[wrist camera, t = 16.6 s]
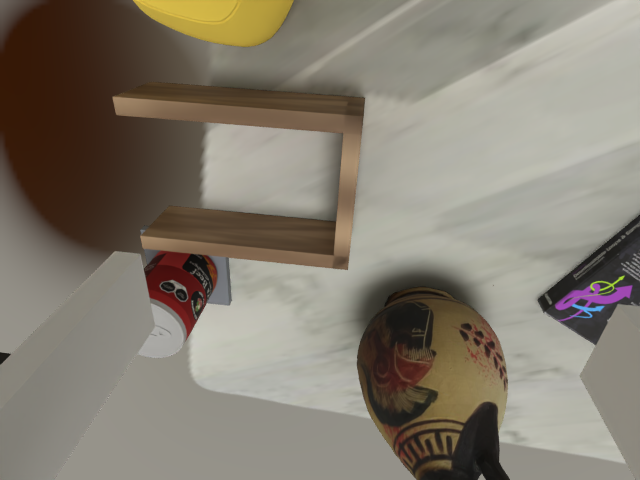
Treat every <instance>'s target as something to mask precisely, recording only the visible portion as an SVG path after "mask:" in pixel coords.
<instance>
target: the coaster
mask: <svg viewBox="0 0 640 480" xmlns="http://www.w3.org/2000/svg"><path fill="white" fill-rule="evenodd" d="M148 227H149V226H144V227H143V228H142V229H141V235H142V234H143V232H144V231H145V230H146V229H147V228H148ZM144 251H145V256H146V261H147V265H148V264H149V263H150V261H151V260H152V259H153V258H154V257H155V256H156V255H157V253H158V252H160V251H161V250H152V249H144ZM207 256H208V257H209V258H210V259H211V260H212V262H213V263H214V265H215V267H216V270H217V284H216V287H215V289H214V291H213V292H212V294H211V296H210V298H209V300H208V302H207V303H211V304H220V305H230V303H231V301H232V299H231V286H230V273H229V259H228V257H219V256H209V255H207Z"/></svg>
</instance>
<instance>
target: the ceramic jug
mask: <svg viewBox="0 0 640 480" xmlns="http://www.w3.org/2000/svg"><path fill="white" fill-rule="evenodd" d="M493 286H494V285H493ZM357 369H358V375H359V381H360V385H361V388H362V393H363V397H364V400H365V403H366V406H367V409H368V412H369V414H370V416H371V418H372V420H373V421H374V423H375V425H376V426H377V428H378V429H379V431H380V432H381V434H382V436H383V437H384V439H385V440H386V441H387V443H388V444H389V445H390V447H391V448H392V450H393V452H394V453H395V455H396V456H397V457H398V458H399V459H400V461H401V462H402V463H403V465H404V466H405V467H406V468H407V469H408V470H409V471H410V473H411V474H412V475H413V476H414V477H415V478H416V479H417V480H478V478H479V476H480V475H481V474H483V476H484V477H485V479H486V480H510V479H509V477H508V476H507V474H506V473H505V471H504V470H503V469H502V467H501V465H500V463H499V435H498V433H499V430H500V427H501V424H502V422H503V418H504V414H505V409H506V402H507V390H508V379H507V371H506V364H505V359H504V355H503V351H502V348H501V345H500V342H499V340H498V338H497V336H496V334H495V332H494V331H493V330H492V328H491V327H490V325H489V324H488V323H487V321H486V320H485V319H484V318H483V317H482V316H481V315H480V314H478V313H477V312H476V311H475V310H474V309H473V308H471V307H470V306H468V305H467V304H465V303H464V302H461V301H459V300H455V299H454V298H453V297H452V296H451V295H450V294H448V293H447V292H445V291H441V290H436V289H432V288H427V287H416V288H411V289H406V290H402V291H400V292H396V293H394V294H392V295H391V296H389V297H388V300H387V302H386V303H385V307H384V308H383V309H381V310H380V311H379V312H378V313H377V314H376V315H375V316H374V317H373V318H372V319H371V321H370V323H369V325H368V326H367V328H366V330H365V332H364V334H363V336H362V338H361V341H360V345H359V349H358V355H357Z"/></svg>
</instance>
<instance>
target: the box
mask: <svg viewBox="0 0 640 480" xmlns="http://www.w3.org/2000/svg"><path fill="white" fill-rule="evenodd" d="M538 302H539V304H540V307H541V308H542V311H543V313H544V314H546V315H548V316H549V317H552V318H554V319H555V320H557V321H558V322H560V323H561V324H563V325H565V326H566V327H568V328H569V329H571V330H572V331H574V332H576V333H577V334H579V335H580V336H582V337H584V338H585V339H587V340H588V341H590V342H592V343H593V344H595V345H596V344H597V342H598V341H599V339H600V337H601V335H602V333H603V331H604V329H605V327H606V326H607V324H608V322H609V320H610V318H611V316H612V314H613V312H614V311H615V309H616V307H617V305H618V304H622V305H631V306H640V215H639V216H638V217H637V218H636V219H634V220H633V221H632V222H631V223H629V224H628V225H627V226H626V227H625V228H623V229H622V230H621V231H620V232H619V233H617V234H616V235H615V236H614V237H613V238H611V239H610V240H609V241H608V242H607V243H605V244H604V245H603V246H602V247H601V248H599V249H598V250H597V251H596V252H594V253H593V254H592V255H591V256H590V257H589V258H587V259H586V260H585V261H584V262H582V263H581V264H580V265H579V266H578V267H576V268H575V269H574V270H573V271H572V272H570V273H569V274H568V275H567V276H566V277H564V278H563V279H562V280H561V281H559V282H558V283H557V284H556V285H555V286H553V287H552V288H551V289H550V290H549V291H547V292H546V293H545V294H544V295H543V296H541V297H540V298H539V299H538Z"/></svg>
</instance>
